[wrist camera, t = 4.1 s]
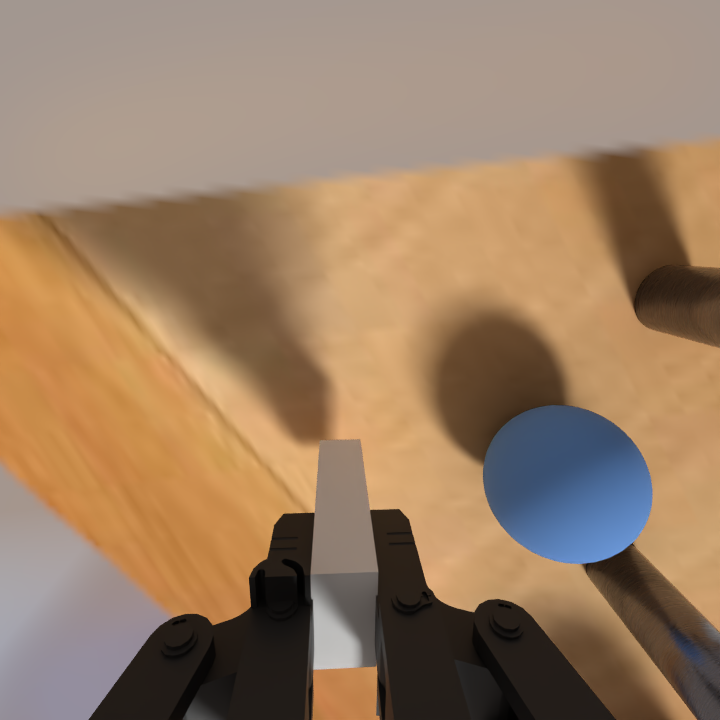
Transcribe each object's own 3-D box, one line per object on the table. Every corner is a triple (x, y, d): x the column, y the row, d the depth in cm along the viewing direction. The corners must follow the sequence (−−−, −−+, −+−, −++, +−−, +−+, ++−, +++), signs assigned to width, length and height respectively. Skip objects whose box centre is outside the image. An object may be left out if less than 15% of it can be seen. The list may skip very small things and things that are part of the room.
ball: (601, 465, 11) (458, 398, 16) (570, 630, 13) (448, 525, 17) (702, 424, 14) (554, 377, 18) (667, 564, 15) (538, 489, 20)
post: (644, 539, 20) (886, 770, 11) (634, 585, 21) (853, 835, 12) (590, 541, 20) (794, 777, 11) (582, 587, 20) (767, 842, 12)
